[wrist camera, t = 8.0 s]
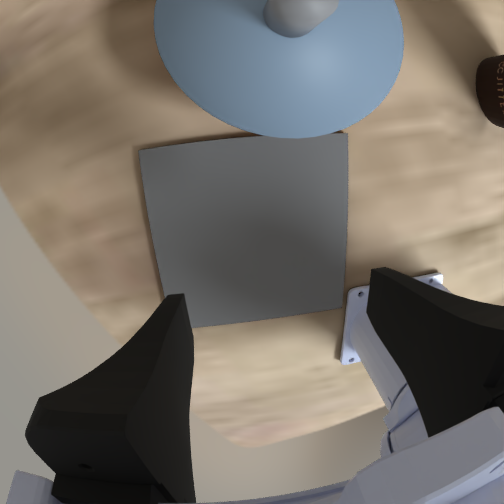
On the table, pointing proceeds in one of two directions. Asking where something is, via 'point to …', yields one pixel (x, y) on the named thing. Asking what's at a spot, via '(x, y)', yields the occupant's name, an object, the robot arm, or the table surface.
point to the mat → (250, 225)
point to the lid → (282, 60)
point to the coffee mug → (491, 89)
